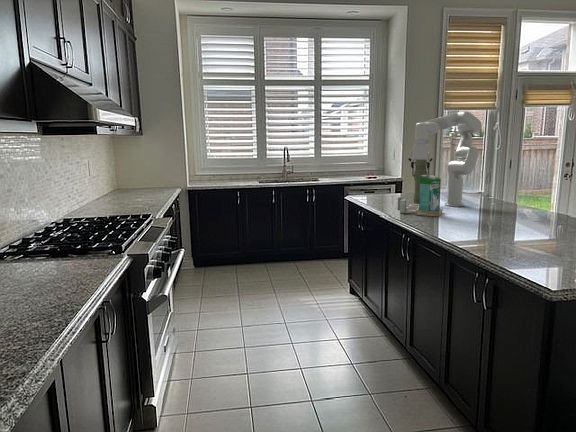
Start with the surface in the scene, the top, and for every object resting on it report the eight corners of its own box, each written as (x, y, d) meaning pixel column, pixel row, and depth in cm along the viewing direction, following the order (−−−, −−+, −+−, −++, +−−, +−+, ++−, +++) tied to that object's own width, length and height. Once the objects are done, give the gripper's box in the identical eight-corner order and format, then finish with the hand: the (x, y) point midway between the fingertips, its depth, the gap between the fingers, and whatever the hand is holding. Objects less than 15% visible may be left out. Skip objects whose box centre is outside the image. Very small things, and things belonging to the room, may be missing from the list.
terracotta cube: (412, 209, 300) (412, 203, 300) (418, 209, 299) (418, 203, 298) (411, 210, 297) (411, 204, 296) (417, 210, 295) (417, 204, 294)
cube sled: (399, 207, 306) (399, 196, 304) (421, 208, 299) (421, 197, 298) (397, 209, 299) (397, 197, 298) (419, 210, 293) (419, 198, 291)
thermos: (429, 204, 317) (431, 155, 310) (412, 204, 318) (413, 156, 312) (427, 202, 325) (428, 155, 319) (410, 202, 327) (412, 155, 320)
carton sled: (402, 210, 296) (403, 198, 295) (442, 212, 286) (442, 200, 284) (398, 213, 284) (398, 201, 282) (439, 216, 273) (439, 203, 271)
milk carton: (429, 215, 276) (430, 176, 272) (418, 213, 284) (419, 175, 279) (439, 214, 280) (441, 175, 276) (429, 212, 288) (430, 174, 284)
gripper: (435, 141, 285) (434, 168, 289) (408, 142, 293) (407, 167, 296) (434, 142, 279) (433, 169, 282) (406, 142, 286) (405, 168, 289)
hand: (420, 168), depth 289 cm, fingers open, 9 cm apart
